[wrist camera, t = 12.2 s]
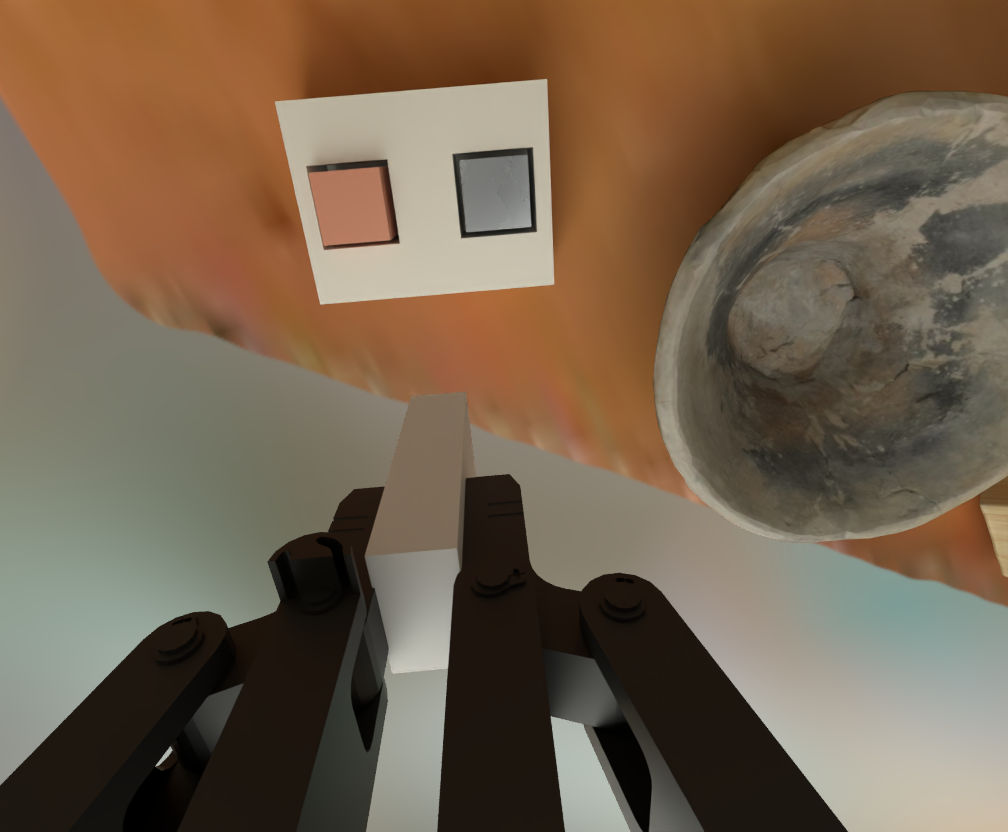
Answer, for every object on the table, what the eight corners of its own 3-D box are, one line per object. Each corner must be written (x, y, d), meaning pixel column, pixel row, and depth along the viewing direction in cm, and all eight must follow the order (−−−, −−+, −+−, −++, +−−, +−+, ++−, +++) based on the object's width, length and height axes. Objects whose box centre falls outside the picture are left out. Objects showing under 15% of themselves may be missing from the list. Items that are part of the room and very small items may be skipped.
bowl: (602, 131, 38) (670, 114, 25) (973, 93, 38) (1245, 55, 25) (606, 458, 50) (653, 568, 36) (891, 429, 50) (1045, 529, 36)
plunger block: (304, 110, 37) (274, 101, 31) (537, 91, 37) (547, 79, 31) (340, 286, 42) (320, 304, 37) (544, 268, 42) (554, 284, 37)
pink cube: (327, 171, 36) (308, 172, 32) (389, 166, 36) (378, 166, 32) (340, 236, 38) (323, 245, 34) (399, 231, 38) (390, 240, 34)
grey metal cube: (461, 160, 37) (459, 160, 33) (522, 155, 37) (527, 154, 33) (467, 225, 39) (466, 232, 35) (525, 220, 39) (531, 226, 35)
